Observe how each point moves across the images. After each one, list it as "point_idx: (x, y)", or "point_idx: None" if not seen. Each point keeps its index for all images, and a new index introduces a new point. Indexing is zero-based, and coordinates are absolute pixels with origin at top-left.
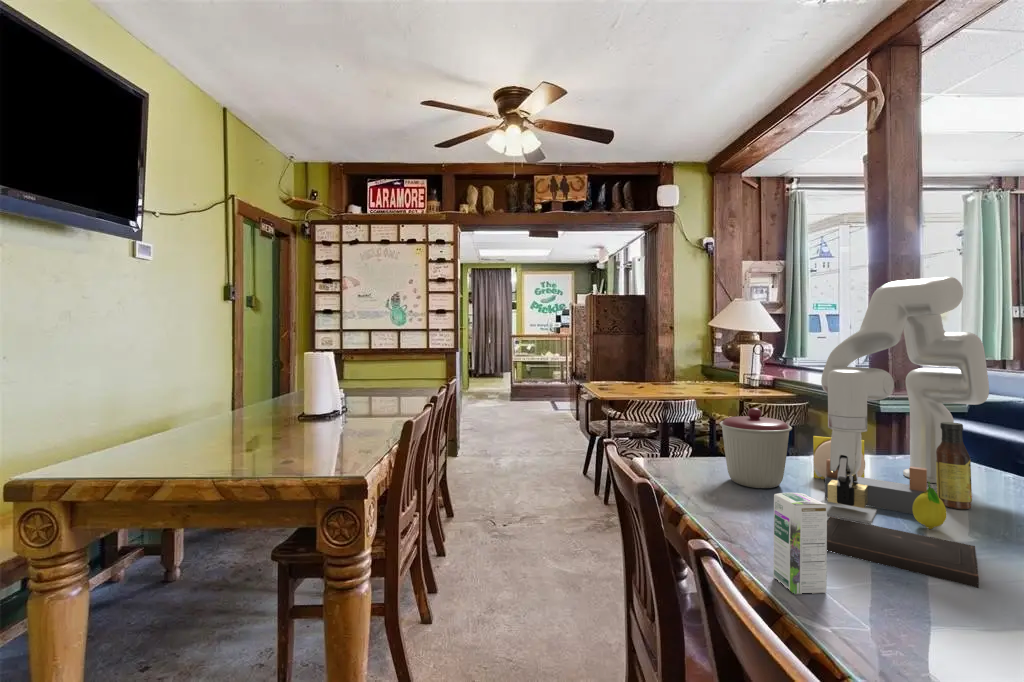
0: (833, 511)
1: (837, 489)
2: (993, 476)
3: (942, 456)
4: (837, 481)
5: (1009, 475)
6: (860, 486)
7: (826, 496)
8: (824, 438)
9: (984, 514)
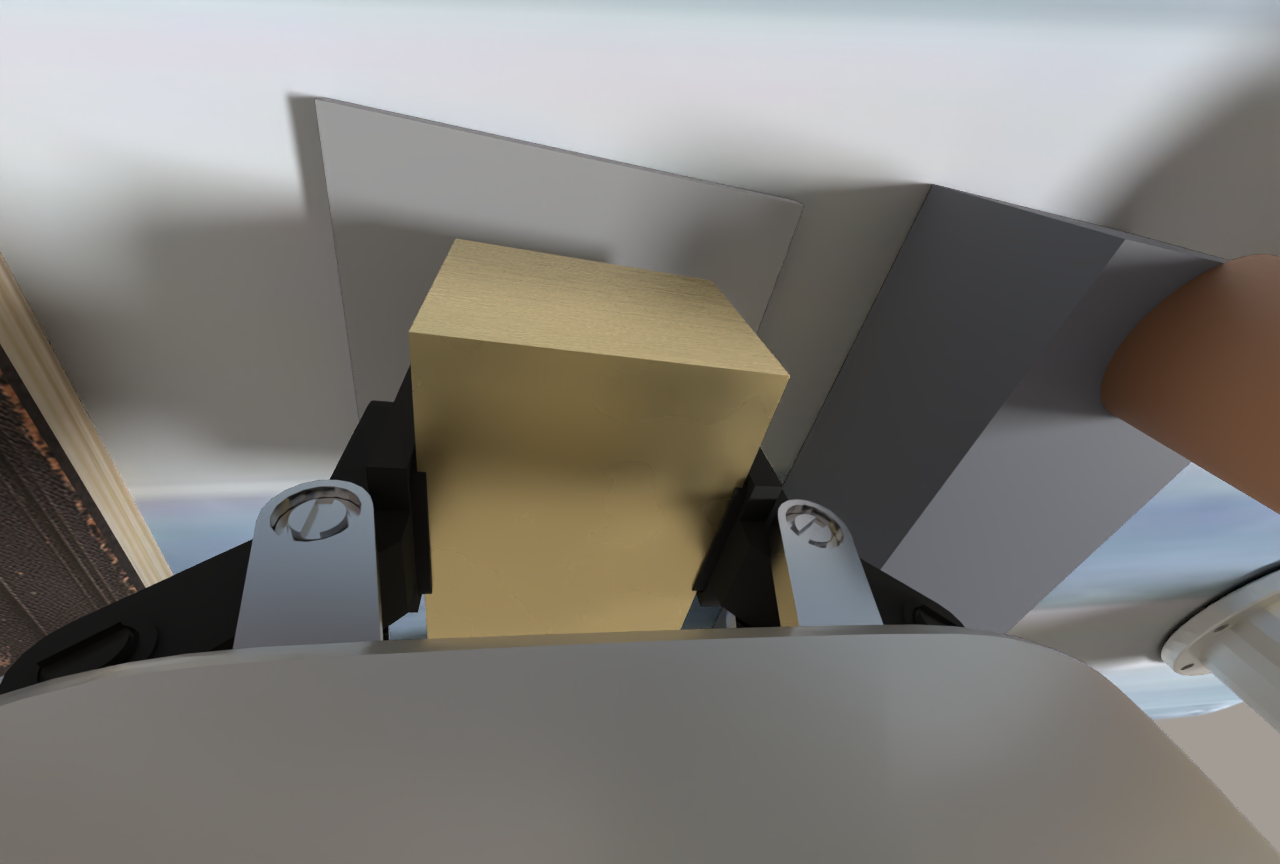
0: (416, 269)
1: (382, 435)
2: (1225, 692)
3: None
4: (256, 550)
5: (1223, 708)
6: (590, 623)
7: (936, 202)
8: None
9: None
